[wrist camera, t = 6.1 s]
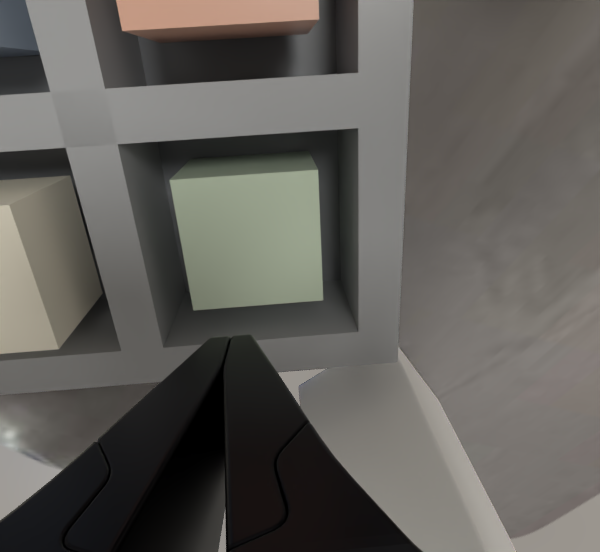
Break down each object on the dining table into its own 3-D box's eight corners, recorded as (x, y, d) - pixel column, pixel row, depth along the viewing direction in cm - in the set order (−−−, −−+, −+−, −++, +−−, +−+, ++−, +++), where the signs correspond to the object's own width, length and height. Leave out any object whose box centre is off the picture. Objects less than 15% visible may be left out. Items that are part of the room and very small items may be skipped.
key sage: (308, 150, 19) (318, 169, 15) (313, 259, 21) (323, 300, 17) (190, 158, 18) (169, 180, 15) (207, 267, 20) (193, 310, 17)
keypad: (376, -238, 14) (431, -402, 9) (370, 300, 23) (397, 362, 18) (-253, -211, 14) (-546, -372, 9) (-21, 331, 22) (-105, 403, 17)
